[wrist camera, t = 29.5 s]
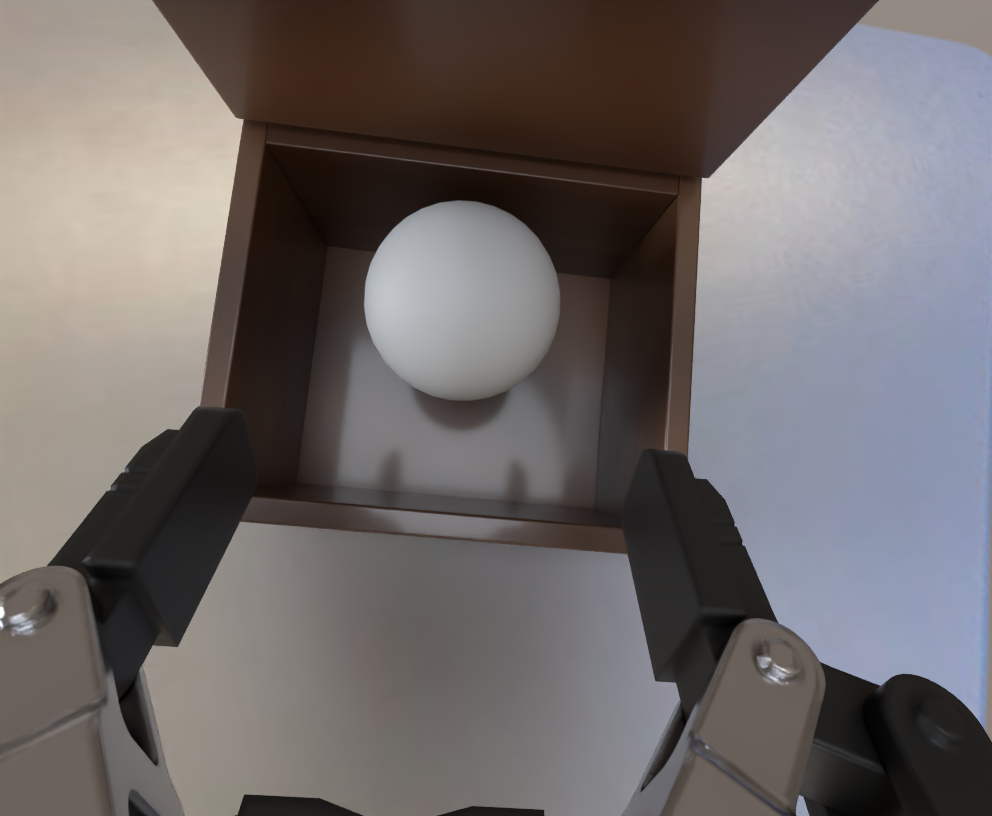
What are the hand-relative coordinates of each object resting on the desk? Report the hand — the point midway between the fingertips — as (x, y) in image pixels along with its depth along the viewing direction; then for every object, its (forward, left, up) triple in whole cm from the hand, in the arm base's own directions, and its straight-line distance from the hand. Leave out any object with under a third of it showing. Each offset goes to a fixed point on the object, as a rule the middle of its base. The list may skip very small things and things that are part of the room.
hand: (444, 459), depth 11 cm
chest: (-4, +2, -14) cm, 15 cm away
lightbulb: (-4, +2, -13) cm, 14 cm away
